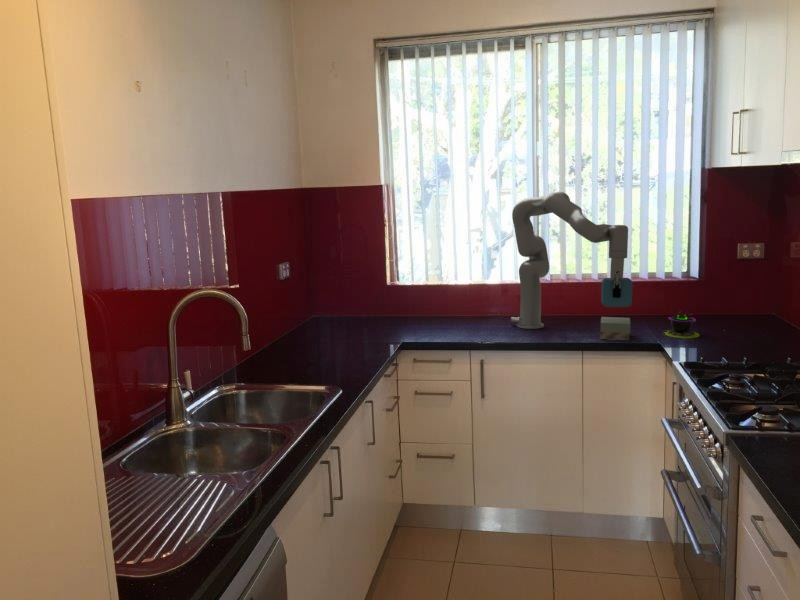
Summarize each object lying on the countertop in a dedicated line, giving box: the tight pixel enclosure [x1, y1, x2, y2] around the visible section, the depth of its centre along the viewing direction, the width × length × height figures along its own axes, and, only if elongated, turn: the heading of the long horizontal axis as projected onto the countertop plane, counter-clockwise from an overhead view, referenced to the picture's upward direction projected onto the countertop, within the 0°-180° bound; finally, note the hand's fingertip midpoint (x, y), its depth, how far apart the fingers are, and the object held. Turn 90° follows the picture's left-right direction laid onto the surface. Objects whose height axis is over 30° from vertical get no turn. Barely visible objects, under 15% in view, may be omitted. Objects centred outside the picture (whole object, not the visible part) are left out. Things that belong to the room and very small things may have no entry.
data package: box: [600, 277, 634, 308], centre depth 285 cm, size 12×4×12 cm, turn 81°
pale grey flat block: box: [599, 316, 631, 334], centre depth 287 cm, size 12×13×4 cm
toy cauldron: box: [663, 309, 700, 339], centre depth 290 cm, size 15×15×11 cm
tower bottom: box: [599, 331, 631, 340], centre depth 288 cm, size 12×13×4 cm
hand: (616, 296), depth 285 cm, fingers closed on data package, 5 cm apart
